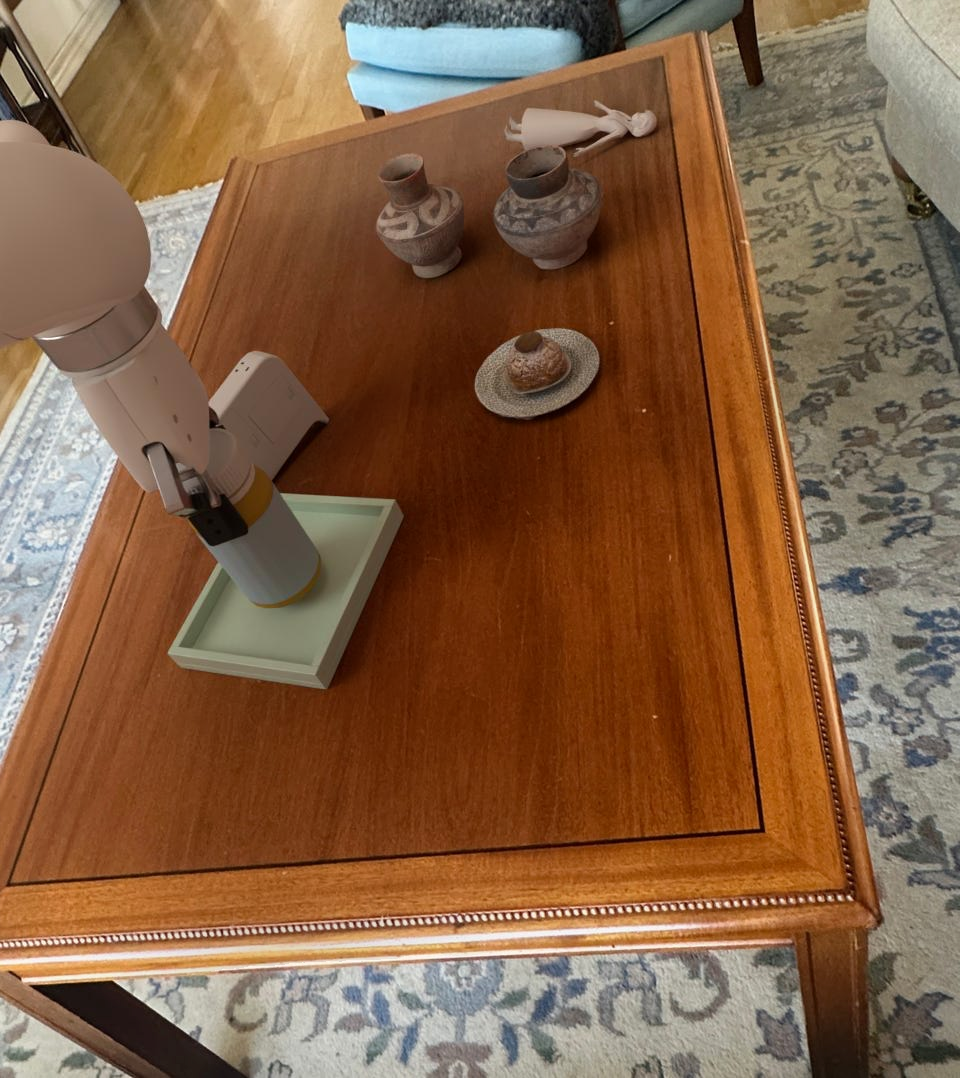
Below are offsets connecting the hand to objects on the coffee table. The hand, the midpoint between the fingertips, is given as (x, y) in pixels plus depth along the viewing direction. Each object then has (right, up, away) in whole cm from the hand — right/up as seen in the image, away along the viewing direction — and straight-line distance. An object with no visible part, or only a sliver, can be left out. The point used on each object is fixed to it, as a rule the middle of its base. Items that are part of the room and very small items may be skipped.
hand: (228, 501), depth 75 cm
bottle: (+3, -6, +8) cm, 10 cm away
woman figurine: (+32, +44, +42) cm, 69 cm away
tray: (+3, -7, +9) cm, 12 cm away
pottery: (+22, +27, +31) cm, 47 cm away
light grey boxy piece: (-1, +3, +20) cm, 20 cm away
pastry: (+25, +12, +17) cm, 32 cm away
